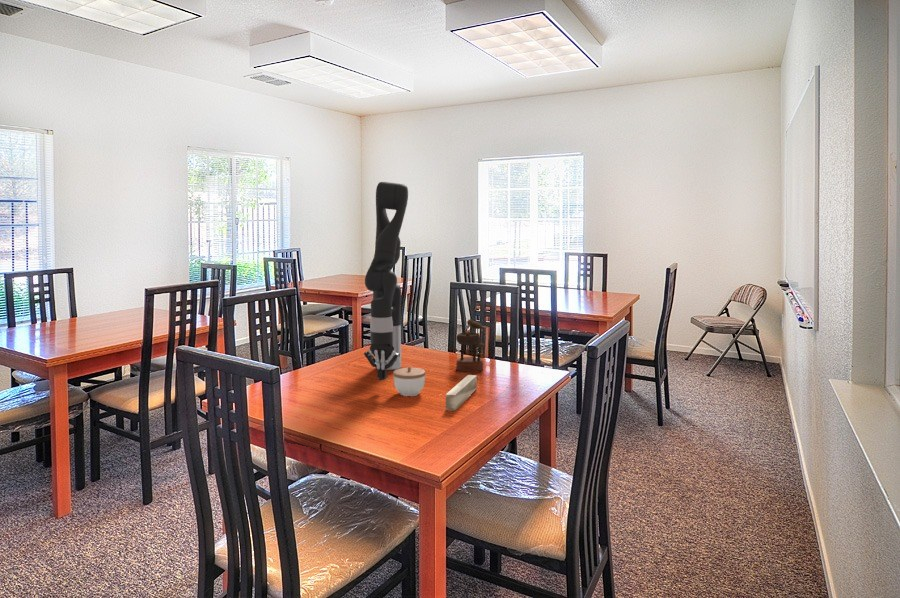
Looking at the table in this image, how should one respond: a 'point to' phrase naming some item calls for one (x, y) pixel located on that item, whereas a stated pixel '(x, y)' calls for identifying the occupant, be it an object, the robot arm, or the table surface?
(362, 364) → the table surface
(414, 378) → the lidded jar
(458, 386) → the grey long bar
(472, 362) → the music box
